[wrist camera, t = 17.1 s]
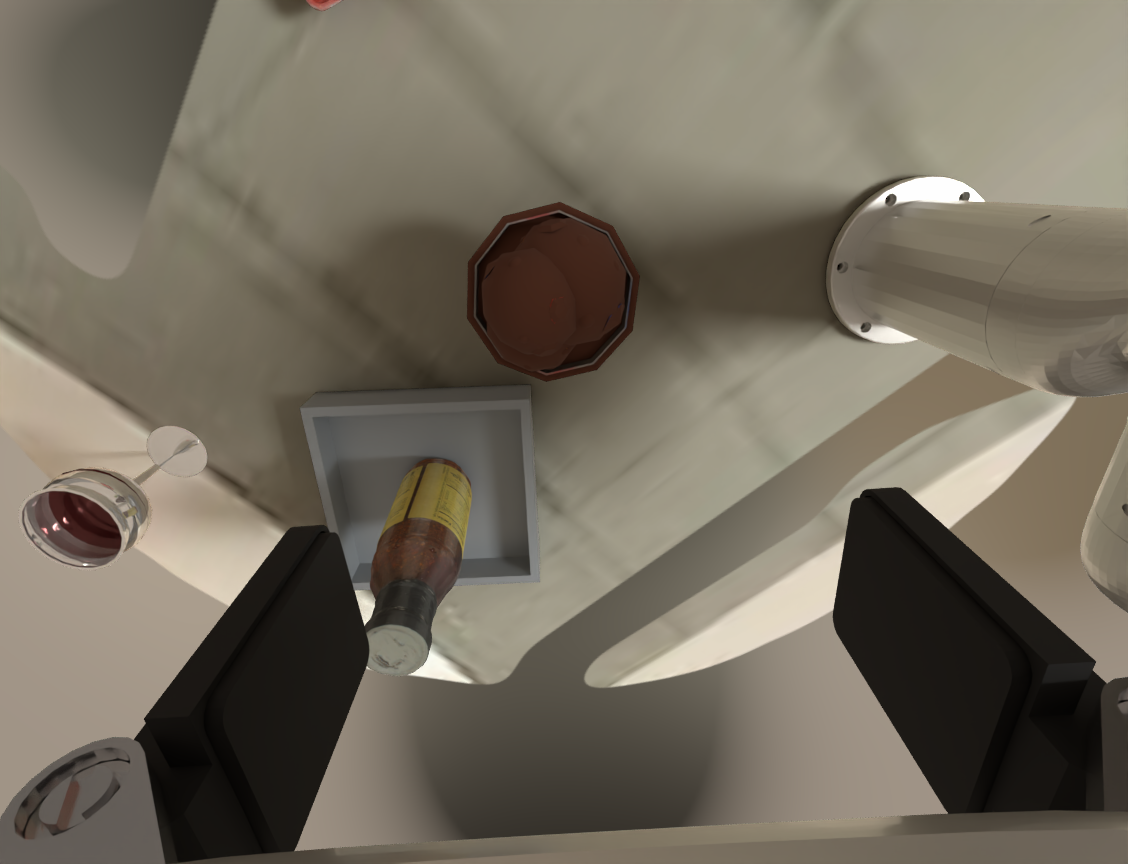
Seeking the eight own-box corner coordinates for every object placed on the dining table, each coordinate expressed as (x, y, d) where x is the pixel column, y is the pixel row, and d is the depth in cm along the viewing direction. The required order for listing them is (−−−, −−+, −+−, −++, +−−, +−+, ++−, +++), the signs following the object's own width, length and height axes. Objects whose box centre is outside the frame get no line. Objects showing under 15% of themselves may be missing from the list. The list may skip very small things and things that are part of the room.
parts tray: (530, 384, 48) (529, 399, 44) (539, 558, 55) (539, 582, 52) (316, 392, 47) (299, 407, 44) (354, 566, 55) (342, 590, 51)
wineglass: (219, 491, 51) (131, 577, 40) (139, 478, 50) (26, 563, 39) (216, 423, 48) (120, 496, 37) (132, 409, 47) (8, 479, 36)
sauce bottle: (415, 519, 52) (347, 702, 34) (395, 460, 49) (310, 623, 31) (484, 507, 52) (454, 685, 34) (468, 447, 49) (425, 604, 31)
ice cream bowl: (531, 367, 47) (527, 444, 33) (452, 247, 43) (411, 279, 29) (643, 300, 45) (688, 352, 31) (572, 168, 41) (587, 162, 27)
